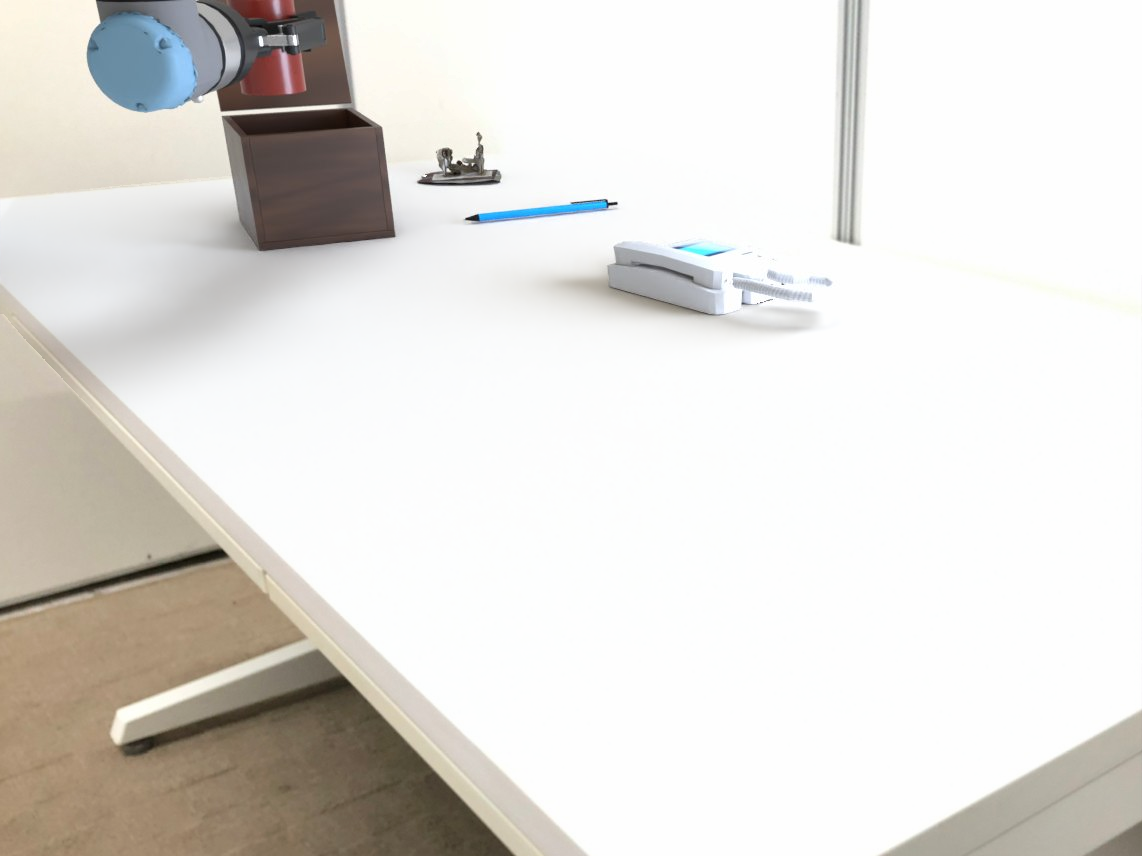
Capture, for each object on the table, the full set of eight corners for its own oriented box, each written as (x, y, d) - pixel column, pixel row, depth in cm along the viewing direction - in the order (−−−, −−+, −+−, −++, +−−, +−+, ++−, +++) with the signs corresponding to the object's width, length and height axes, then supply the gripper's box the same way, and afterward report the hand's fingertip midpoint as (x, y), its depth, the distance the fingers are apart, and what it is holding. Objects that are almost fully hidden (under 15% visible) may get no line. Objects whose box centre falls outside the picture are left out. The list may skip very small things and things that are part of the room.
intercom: (797, 288, 110) (601, 240, 125) (796, 338, 111) (603, 285, 127) (893, 260, 118) (699, 218, 134) (891, 306, 120) (700, 260, 135)
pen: (618, 207, 158) (618, 198, 158) (465, 223, 151) (464, 214, 150) (615, 206, 159) (615, 197, 159) (463, 222, 152) (462, 212, 151)
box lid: (324, -56, 149) (323, -55, 150) (188, -54, 144) (188, -52, 144) (351, 102, 153) (350, 103, 154) (221, 111, 148) (220, 112, 148)
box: (395, 236, 146) (382, 126, 140) (259, 250, 140) (240, 136, 135) (365, 208, 159) (351, 107, 154) (239, 220, 153) (221, 115, 148)
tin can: (230, 95, 133) (213, -1, 129) (260, 87, 138) (246, -5, 134) (288, 96, 132) (274, -1, 128) (317, 88, 137) (304, -5, 133)
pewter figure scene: (394, 168, 176) (457, 128, 180) (419, 211, 180) (480, 170, 184) (430, 170, 167) (496, 127, 171) (456, 215, 171) (520, 172, 174)
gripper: (101, 92, 118) (194, 63, 139) (315, 91, 118) (377, 62, 139) (82, 2, 115) (181, -14, 135) (302, 1, 115) (367, -15, 135)
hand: (280, 25), depth 137 cm, fingers closed on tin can, 6 cm apart
